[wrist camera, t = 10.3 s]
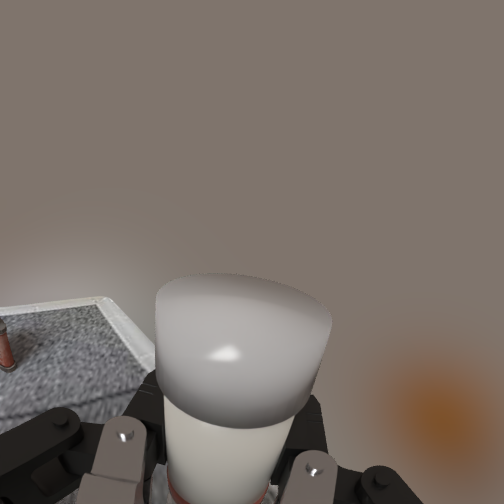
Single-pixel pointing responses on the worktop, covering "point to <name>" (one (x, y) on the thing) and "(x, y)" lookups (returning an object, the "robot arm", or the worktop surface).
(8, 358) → the lighter
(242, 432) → the fuse
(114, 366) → the worktop surface
